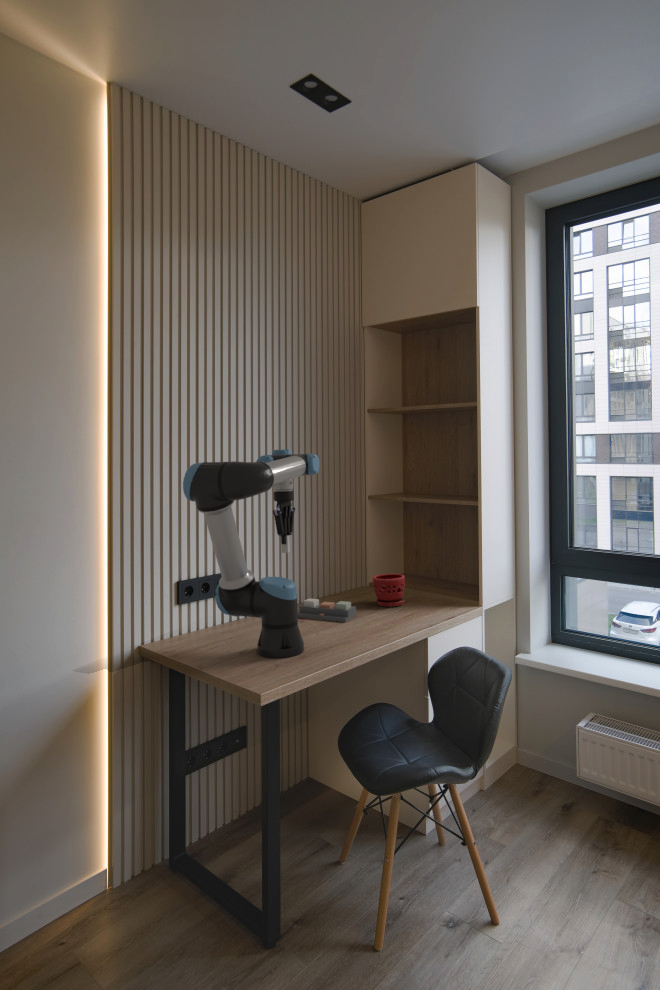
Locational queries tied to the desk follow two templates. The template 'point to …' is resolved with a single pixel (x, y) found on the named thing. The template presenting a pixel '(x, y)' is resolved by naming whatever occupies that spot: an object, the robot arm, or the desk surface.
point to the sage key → (343, 605)
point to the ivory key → (311, 602)
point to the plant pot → (389, 589)
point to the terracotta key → (327, 605)
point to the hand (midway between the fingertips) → (285, 552)
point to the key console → (326, 613)
